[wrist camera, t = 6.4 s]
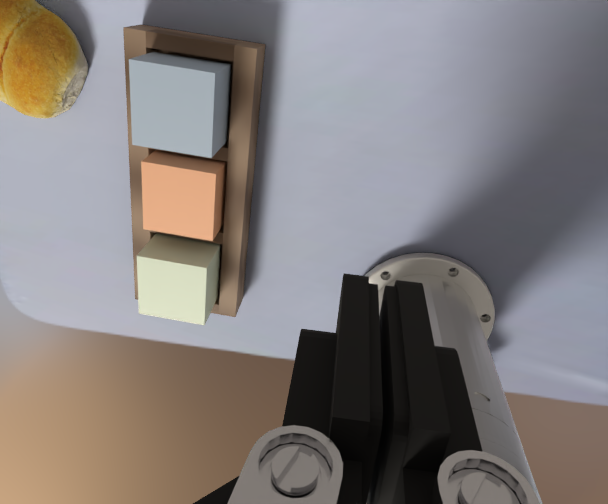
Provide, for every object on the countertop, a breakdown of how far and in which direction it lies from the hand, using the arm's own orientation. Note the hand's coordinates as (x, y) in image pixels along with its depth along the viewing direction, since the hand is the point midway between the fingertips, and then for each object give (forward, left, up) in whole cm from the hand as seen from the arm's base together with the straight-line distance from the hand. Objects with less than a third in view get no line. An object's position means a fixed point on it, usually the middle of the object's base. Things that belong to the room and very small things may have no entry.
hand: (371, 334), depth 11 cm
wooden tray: (+2, +15, -28) cm, 32 cm away
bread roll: (+17, +19, -29) cm, 38 cm away
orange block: (+2, +15, -27) cm, 31 cm away
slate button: (+7, +10, -26) cm, 29 cm away
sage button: (-3, +20, -26) cm, 33 cm away
